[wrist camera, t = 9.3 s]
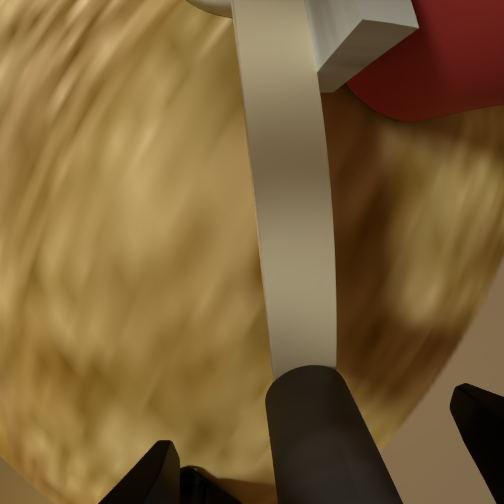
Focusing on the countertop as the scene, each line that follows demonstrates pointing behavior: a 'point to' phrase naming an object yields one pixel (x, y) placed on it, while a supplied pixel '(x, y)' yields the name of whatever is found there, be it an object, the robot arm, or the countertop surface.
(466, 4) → the beer can
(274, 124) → the lever
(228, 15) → the lever base
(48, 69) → the countertop surface
